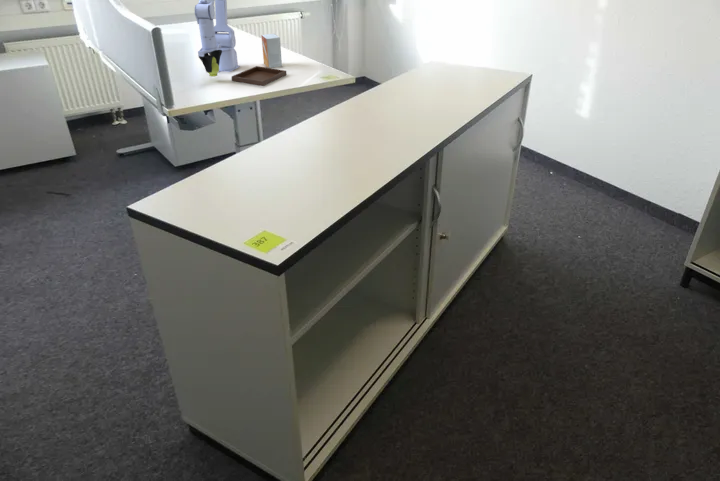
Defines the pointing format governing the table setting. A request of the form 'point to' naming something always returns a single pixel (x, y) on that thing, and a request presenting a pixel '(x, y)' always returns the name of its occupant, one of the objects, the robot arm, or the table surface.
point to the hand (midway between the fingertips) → (212, 70)
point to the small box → (271, 50)
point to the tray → (259, 75)
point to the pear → (214, 67)
